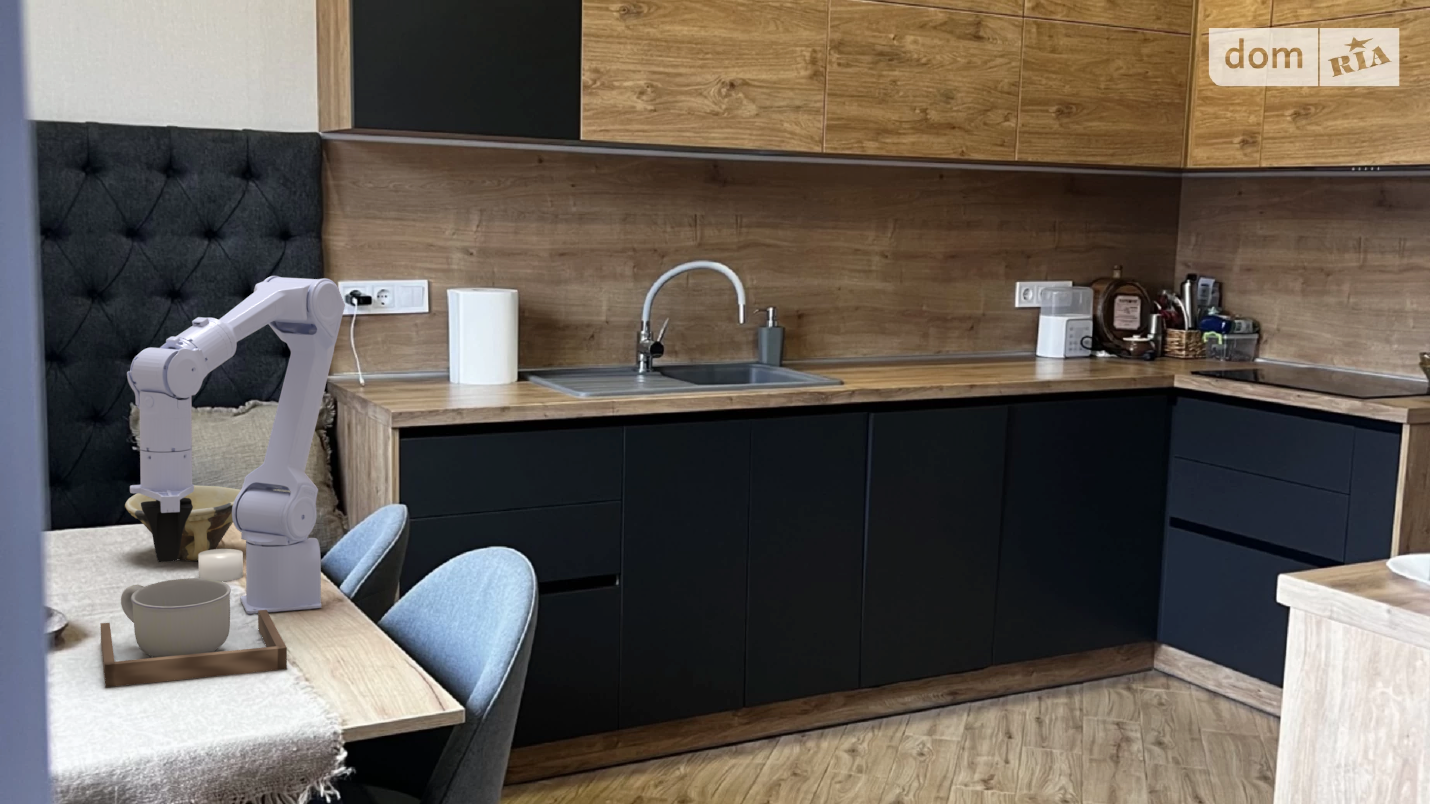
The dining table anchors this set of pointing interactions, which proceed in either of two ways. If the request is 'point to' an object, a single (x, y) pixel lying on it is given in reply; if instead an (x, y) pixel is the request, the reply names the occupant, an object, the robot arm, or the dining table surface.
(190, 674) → the corral
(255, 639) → the dining table surface
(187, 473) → the robot arm
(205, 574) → the white frosted puck
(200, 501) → the bowl
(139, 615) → the teacup
